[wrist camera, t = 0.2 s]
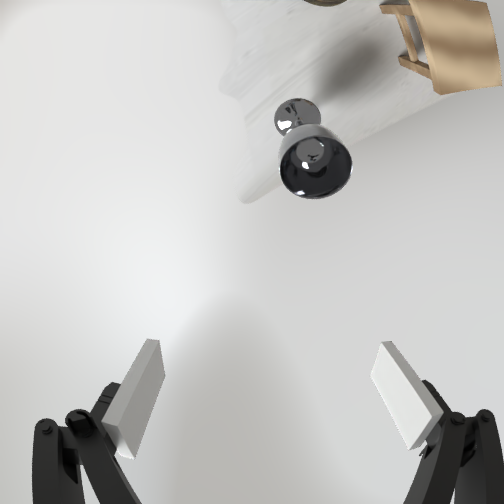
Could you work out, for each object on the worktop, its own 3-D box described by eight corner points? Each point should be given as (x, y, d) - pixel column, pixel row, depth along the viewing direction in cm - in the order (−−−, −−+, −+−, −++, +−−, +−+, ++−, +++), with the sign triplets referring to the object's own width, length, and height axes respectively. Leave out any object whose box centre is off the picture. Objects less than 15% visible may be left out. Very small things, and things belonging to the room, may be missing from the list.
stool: (371, 0, 21) (414, -1, 13) (435, -4, 17) (486, 2, 9) (397, 71, 29) (440, 95, 21) (453, 61, 25) (501, 85, 17)
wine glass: (274, 144, 40) (282, 202, 30) (268, 98, 35) (275, 139, 25) (324, 140, 39) (350, 196, 30) (322, 94, 34) (354, 134, 24)
